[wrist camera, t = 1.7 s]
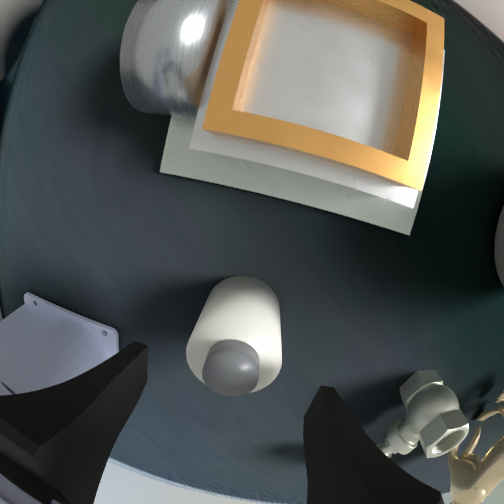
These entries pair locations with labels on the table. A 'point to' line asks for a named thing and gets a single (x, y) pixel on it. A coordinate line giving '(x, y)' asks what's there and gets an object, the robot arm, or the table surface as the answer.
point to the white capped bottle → (237, 337)
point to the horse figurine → (477, 466)
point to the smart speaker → (500, 247)
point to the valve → (426, 418)
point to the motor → (294, 97)
